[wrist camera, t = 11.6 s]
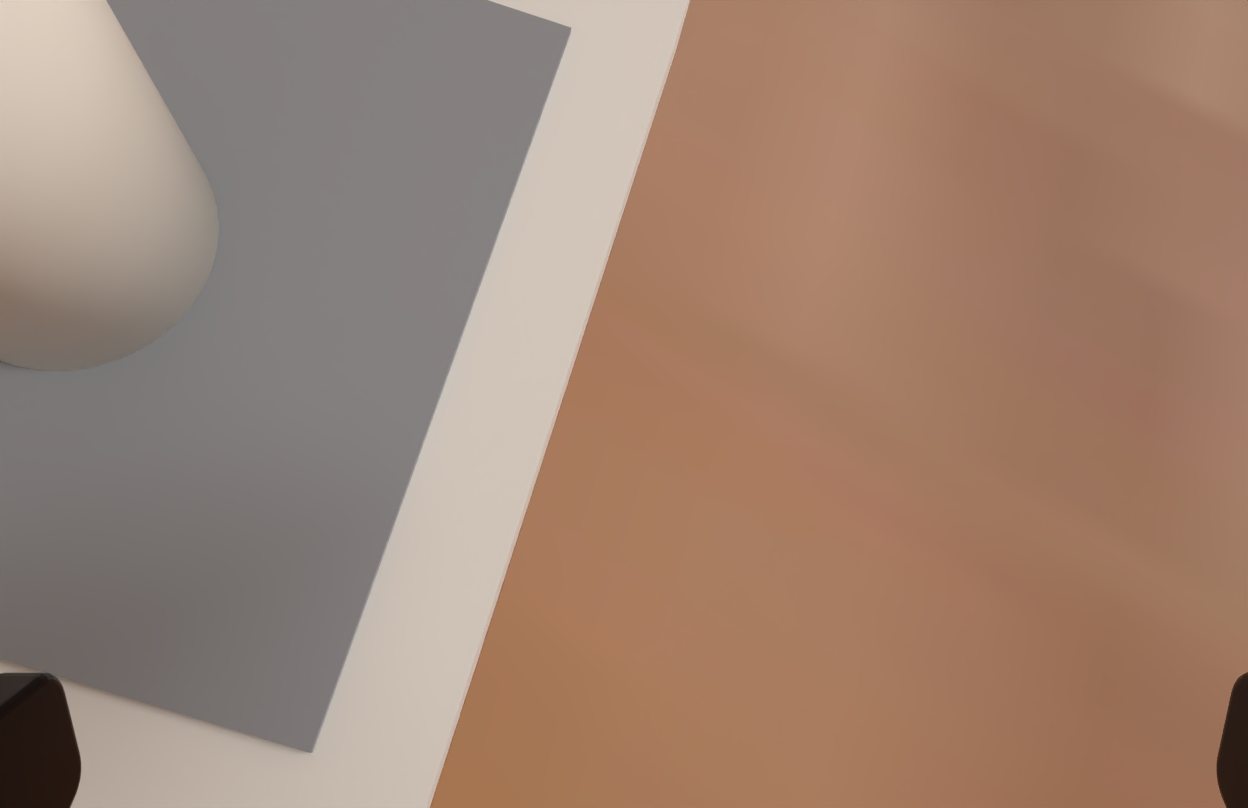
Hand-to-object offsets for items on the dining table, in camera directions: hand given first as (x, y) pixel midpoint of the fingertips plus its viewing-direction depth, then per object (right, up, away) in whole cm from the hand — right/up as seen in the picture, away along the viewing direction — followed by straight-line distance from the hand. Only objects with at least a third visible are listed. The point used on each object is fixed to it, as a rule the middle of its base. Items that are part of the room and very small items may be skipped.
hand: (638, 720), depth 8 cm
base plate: (-10, +5, +13) cm, 17 cm away
